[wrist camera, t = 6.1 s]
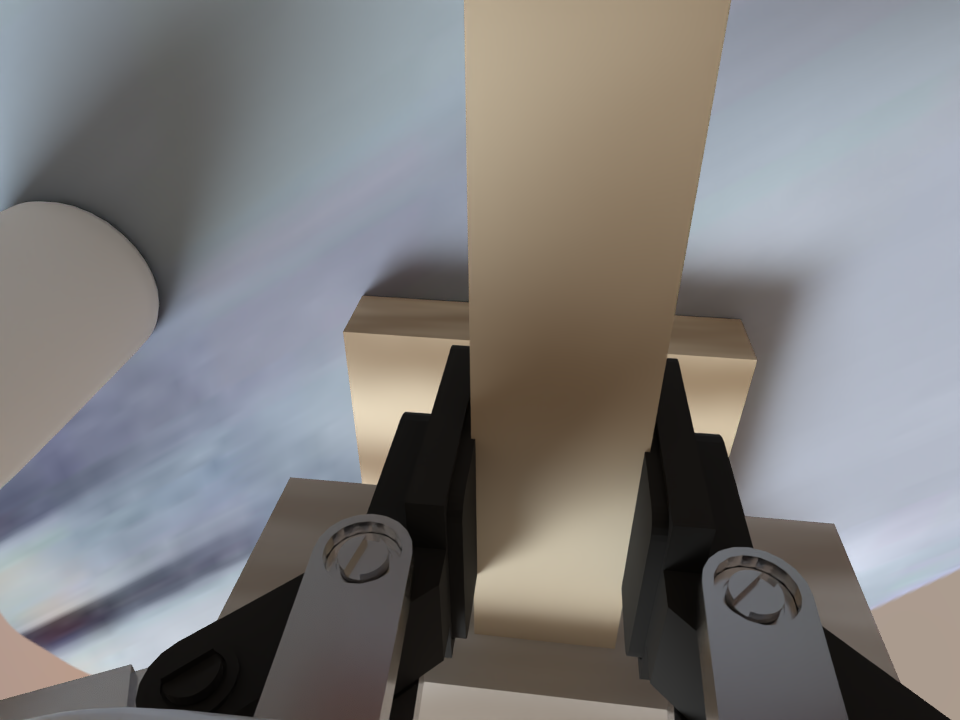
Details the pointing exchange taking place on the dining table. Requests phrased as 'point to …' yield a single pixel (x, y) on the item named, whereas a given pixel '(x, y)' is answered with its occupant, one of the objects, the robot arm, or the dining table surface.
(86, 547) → the dining table surface
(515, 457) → the scraper
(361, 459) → the board
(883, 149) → the dining table surface
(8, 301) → the milk bottle
